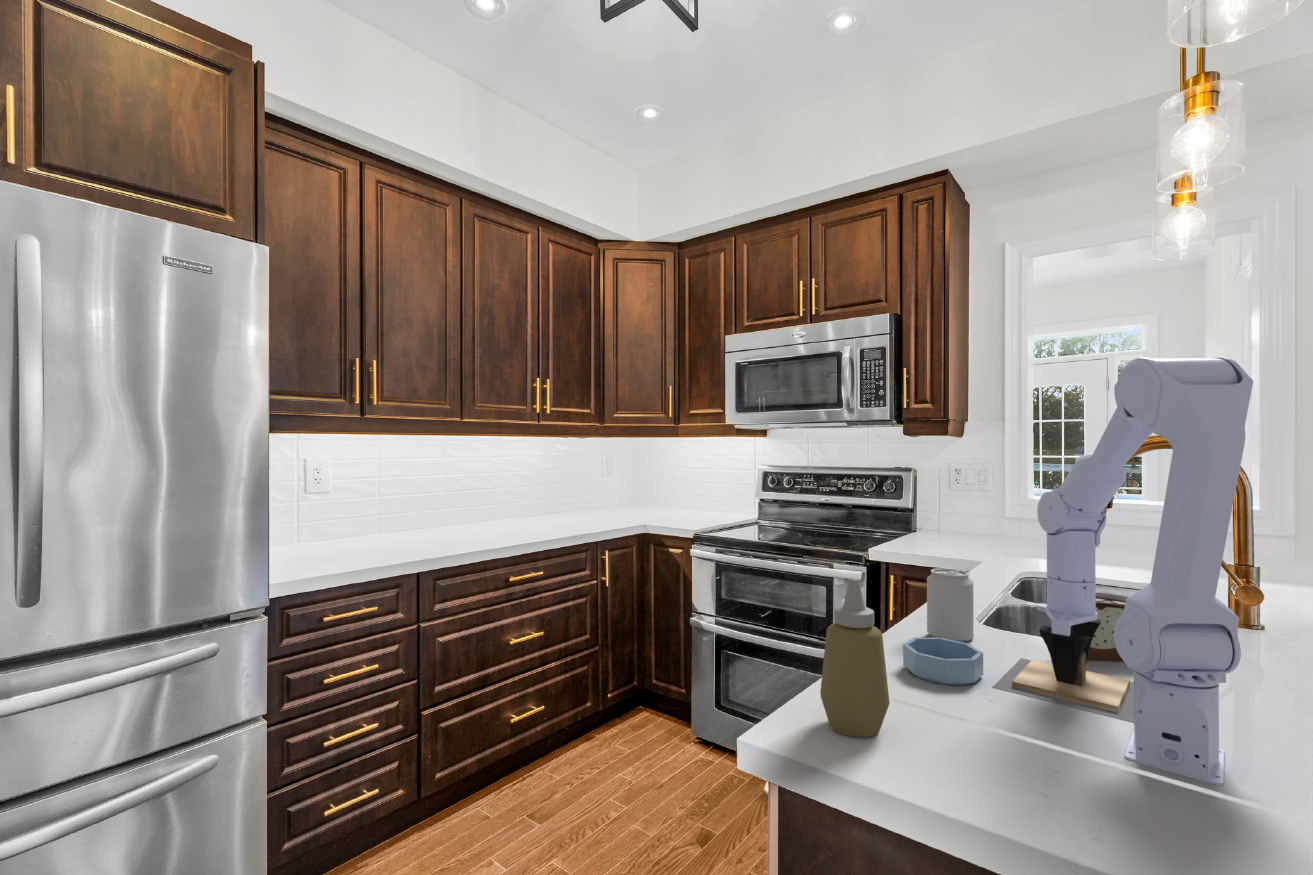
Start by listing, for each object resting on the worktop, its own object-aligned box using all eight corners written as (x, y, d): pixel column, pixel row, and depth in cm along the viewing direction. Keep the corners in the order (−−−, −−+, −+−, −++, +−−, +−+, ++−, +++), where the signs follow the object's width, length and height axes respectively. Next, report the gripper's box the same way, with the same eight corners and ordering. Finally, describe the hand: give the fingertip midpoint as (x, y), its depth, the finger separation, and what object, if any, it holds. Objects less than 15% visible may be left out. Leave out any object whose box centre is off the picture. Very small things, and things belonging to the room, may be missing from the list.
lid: (1118, 712, 78) (1117, 674, 78) (1011, 686, 87) (1011, 652, 87) (1129, 685, 87) (1129, 651, 87) (1032, 664, 95) (1032, 633, 95)
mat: (1136, 726, 76) (1136, 722, 76) (992, 690, 86) (992, 687, 86) (1149, 688, 87) (1149, 685, 87) (1021, 660, 98) (1021, 658, 98)
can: (917, 634, 112) (917, 567, 112) (951, 630, 114) (951, 565, 114) (948, 647, 105) (948, 576, 105) (983, 643, 107) (983, 573, 107)
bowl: (967, 694, 85) (967, 665, 85) (895, 675, 92) (895, 648, 92) (989, 674, 92) (989, 647, 92) (920, 658, 99) (920, 633, 99)
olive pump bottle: (859, 709, 80) (858, 570, 80) (904, 736, 73) (904, 584, 73) (806, 718, 77) (806, 575, 78) (848, 748, 70) (848, 590, 70)
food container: (1120, 651, 102) (1120, 591, 102) (1146, 665, 96) (1146, 601, 96) (1042, 649, 104) (1042, 589, 104) (1062, 662, 98) (1062, 598, 98)
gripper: (1049, 566, 95) (1049, 655, 95) (1025, 582, 84) (1025, 681, 84) (1105, 573, 90) (1105, 666, 90) (1087, 590, 80) (1088, 696, 79)
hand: (1071, 674), depth 87 cm, fingers open, 7 cm apart
